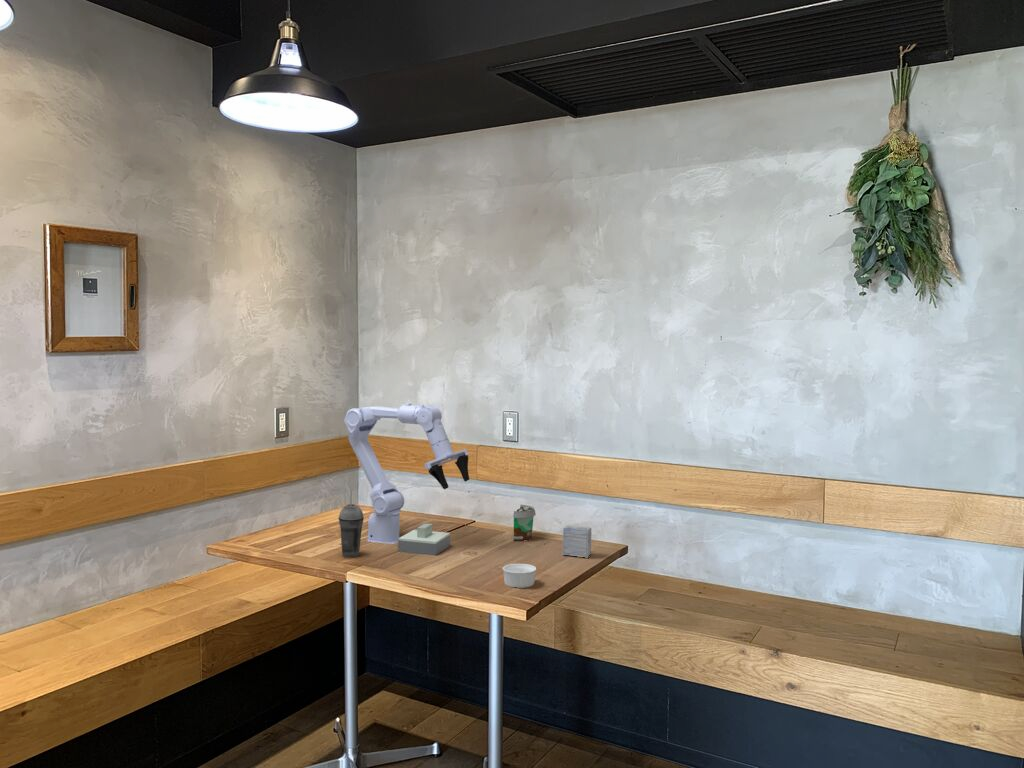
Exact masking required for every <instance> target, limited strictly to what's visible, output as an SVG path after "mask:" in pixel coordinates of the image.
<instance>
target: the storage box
mask: <svg viewBox="0 0 1024 768" xmlns="http://www.w3.org/2000/svg"><path fill="white" fill-rule="evenodd" d="M397 544H398V545H397V546H398V547H397V552H398V553H405V554H406V553H408V554H416V555H417V554H418V555H426V556H428V555H429V556H437V555H439V554H440V553H441V552H444V550H446V549H448V548H450V546H451V534H450V535H449V536H448V537H446V538H444V539H443V540H441V541H440V542H438V543H437V544H431V543H421V542H411V541H401V540H398V542H397Z"/></svg>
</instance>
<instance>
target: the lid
mask: <svg viewBox="0 0 1024 768" xmlns="http://www.w3.org/2000/svg"><path fill="white" fill-rule="evenodd" d="M449 535H450V536H451V533H450V532H443V531H434V530H433V523H423V524H422V525H419V526H418V527H417V529H413V530H411V531H408V533H406V534H404V535H402V536H399V537H400V538H398V540H401V541H411V542H421V543H431V544H437V543H438V542H440V541H441V540H443V539H444V538H446V537H448V536H449Z"/></svg>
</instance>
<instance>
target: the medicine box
mask: <svg viewBox="0 0 1024 768" xmlns="http://www.w3.org/2000/svg"><path fill="white" fill-rule="evenodd" d="M562 529H563V530H562V556H563V555H573V556H583V557H588V556H589V555H590V554H591V555H592V527H591V526H581V525H580V526H579V525H569V524H568V525H565V526H564V527H563V528H562ZM591 555H590V556H591ZM590 556H589V557H590Z"/></svg>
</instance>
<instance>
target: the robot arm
mask: <svg viewBox="0 0 1024 768" xmlns="http://www.w3.org/2000/svg"><path fill="white" fill-rule="evenodd" d="M442 416H443V415H442V411H441V409H440V408H439V407H437V406H434V405H429V406H425V405H424V404H419V405H412V403H410V402H406V403H405V404H402V405H401V406H400V407H389V406H383V405H382V406H380V405H375V406H366V407H358V408H355V407H353V408H350V409H348V410H347V412H346V415H345V416H344V420H343V423H344V425H345V426H346V429H347V436H348V437H347V438H348V441H349V444H350V446H351V449H352V451H353V452H354V455H356V456H355V457H356V459H357V460H358V462H359V465H360V467H361V468H362V470H363V473H364V475H365V477H366V479H367V481H368V483H369V485H370V487H371V492H370V495H369V497H370V499H371V506H372V510H373V511H374V512H372V513H370V515H369V518H368V522H367V523H368V524H367V540H366V542H373V543H380V544H381V543H382V544H389V545H390V544H392V545H394V544H396V543H397V544H398V538H400V537H401V536H400V519H401V516H400V513H401V509H402V508H403V507H404V505H405V497H404V494H403V493H402V492H401V491H399V490H398V488H397V487H396V485H395V484H394V483H392V482H390V481H389V480H388V478H387V476H386V474H385V472H384V470H383V467H382V466H381V464H380V462H379V460H378V458H377V455H376V454H375V451H374V450H373V447H372V445H371V443H370V442H369V439H368V437H369V435H370V433H371V432H372V430H373V429H374V427H375V425H376V424H377V423H378V421H380V420H381V419H398V421H399V422H400V423H402V424H409V425H419V426H421V428H422V429H423V431H424V432H425V434H426V437H427V439H428V442H429V444H430V448H431V450H432V452H433V454H434V457H435V459H433V460H430V461H427V462H426V463H424V464H423V465H424V468H425V470H426V471H428V473H429V475H431V476H432V477H433V478H434V479H435V480H436V481H437V482H438V483H439V485H440V486H441V487H442V489H443V490H447V489H448V488H449V484H448V482H447V479H446V476H445V474H444V469H443V465H444V464H446V463H450V462H453V461H455V463H454V464H455V465H456V467H457V469H458V470H459V471H460V474H461V477H462V479H463V481H464V482H467V481H470V475H469V474H470V473H469V468H468V467H469V452H468V450H467V448H465V449H462V450H458V451H454V449H453V447H452V445H451V442H450V439H449V438H448V435H447V432H446V429H445V427H444V424H443V422H442Z"/></svg>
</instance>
